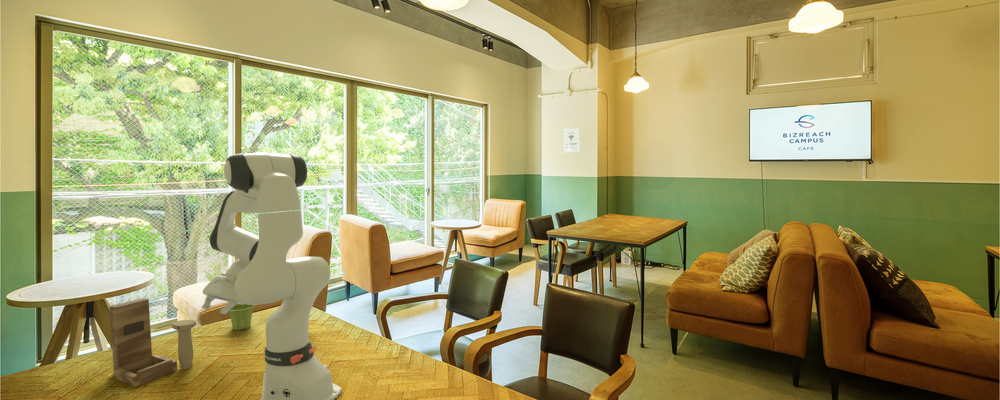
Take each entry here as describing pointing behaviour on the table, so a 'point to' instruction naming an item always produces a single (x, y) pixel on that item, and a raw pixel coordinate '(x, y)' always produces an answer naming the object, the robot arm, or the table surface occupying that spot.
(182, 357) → the handle
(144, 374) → the wooden frame stand
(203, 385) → the table surface
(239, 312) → the plant pot
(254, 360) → the table surface
